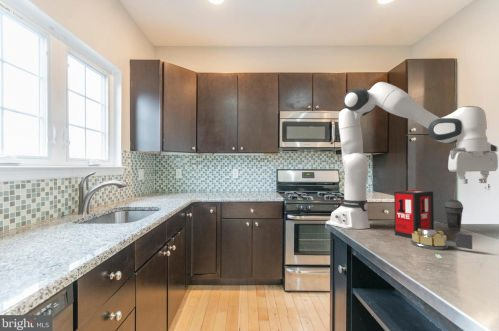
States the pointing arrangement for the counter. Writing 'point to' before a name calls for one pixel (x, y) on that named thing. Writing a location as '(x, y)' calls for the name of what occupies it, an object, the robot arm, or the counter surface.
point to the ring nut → (443, 239)
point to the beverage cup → (454, 214)
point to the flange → (429, 233)
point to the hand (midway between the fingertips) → (473, 183)
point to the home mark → (438, 256)
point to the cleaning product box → (413, 212)
